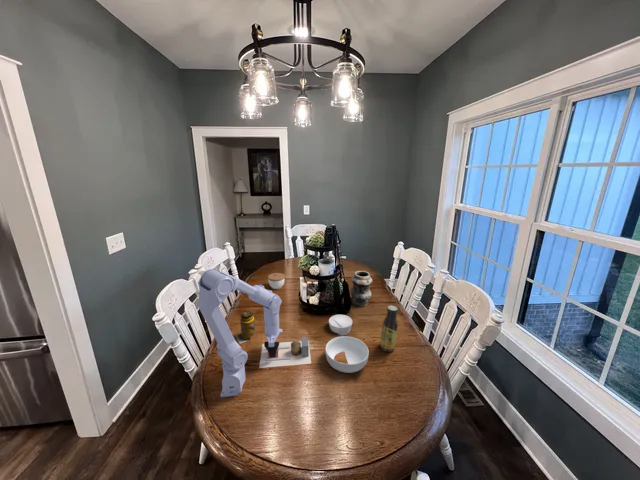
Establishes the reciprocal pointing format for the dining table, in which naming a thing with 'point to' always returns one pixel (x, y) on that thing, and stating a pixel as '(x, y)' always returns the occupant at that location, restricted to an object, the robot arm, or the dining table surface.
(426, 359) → the dining table surface
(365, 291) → the apothecary jar
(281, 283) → the lidded jar
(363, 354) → the cereal bowl
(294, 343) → the walnut
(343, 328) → the ramekin
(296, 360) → the press base
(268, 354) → the pinkish red block
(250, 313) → the condiment
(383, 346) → the sauce bottle
